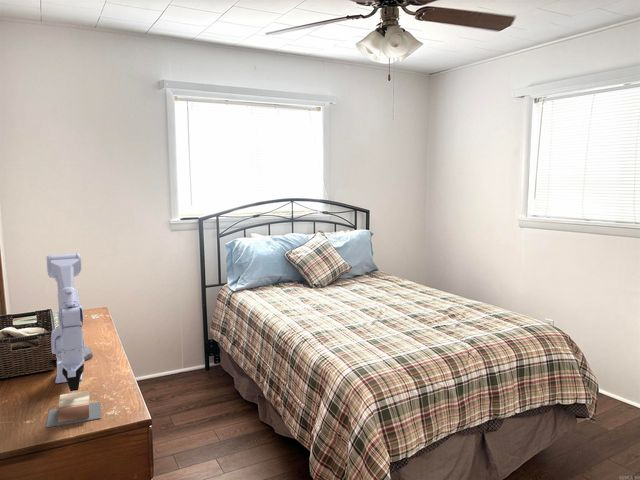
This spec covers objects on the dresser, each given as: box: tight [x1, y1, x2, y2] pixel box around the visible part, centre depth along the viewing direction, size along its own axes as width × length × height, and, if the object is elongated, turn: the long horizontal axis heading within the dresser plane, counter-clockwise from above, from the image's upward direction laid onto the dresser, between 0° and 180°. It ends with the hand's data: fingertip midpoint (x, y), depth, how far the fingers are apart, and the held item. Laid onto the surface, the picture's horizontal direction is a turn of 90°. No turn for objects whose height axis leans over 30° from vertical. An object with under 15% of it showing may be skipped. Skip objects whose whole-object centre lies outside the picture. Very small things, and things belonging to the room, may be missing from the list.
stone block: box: [83, 343, 94, 361], centre depth 180 cm, size 12×5×10 cm
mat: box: [45, 401, 102, 429], centre depth 141 cm, size 10×14×1 cm
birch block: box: [57, 390, 91, 422], centre depth 142 cm, size 4×8×9 cm
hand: (74, 389), depth 143 cm, fingers closed
